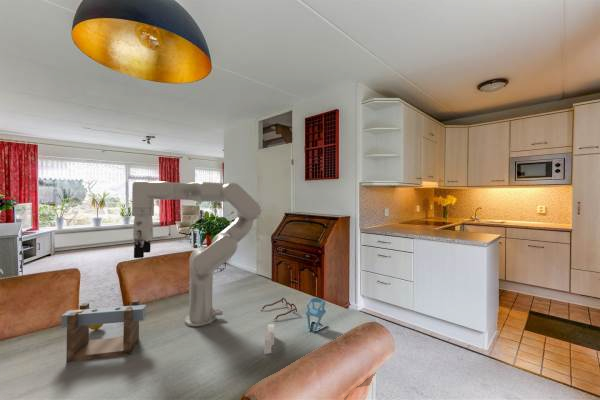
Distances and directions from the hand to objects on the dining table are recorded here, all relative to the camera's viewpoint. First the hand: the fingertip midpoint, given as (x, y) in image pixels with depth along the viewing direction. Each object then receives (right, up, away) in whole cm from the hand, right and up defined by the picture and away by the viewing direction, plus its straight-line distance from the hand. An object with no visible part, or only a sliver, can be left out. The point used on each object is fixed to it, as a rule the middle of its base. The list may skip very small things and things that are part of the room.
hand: (142, 255), depth 107 cm
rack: (-5, -30, -13) cm, 33 cm away
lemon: (-18, -30, 0) cm, 35 cm away
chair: (+69, -32, +6) cm, 77 cm away
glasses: (+53, -32, +20) cm, 65 cm away
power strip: (-5, -20, -13) cm, 25 cm away
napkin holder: (+51, -32, -8) cm, 61 cm away
